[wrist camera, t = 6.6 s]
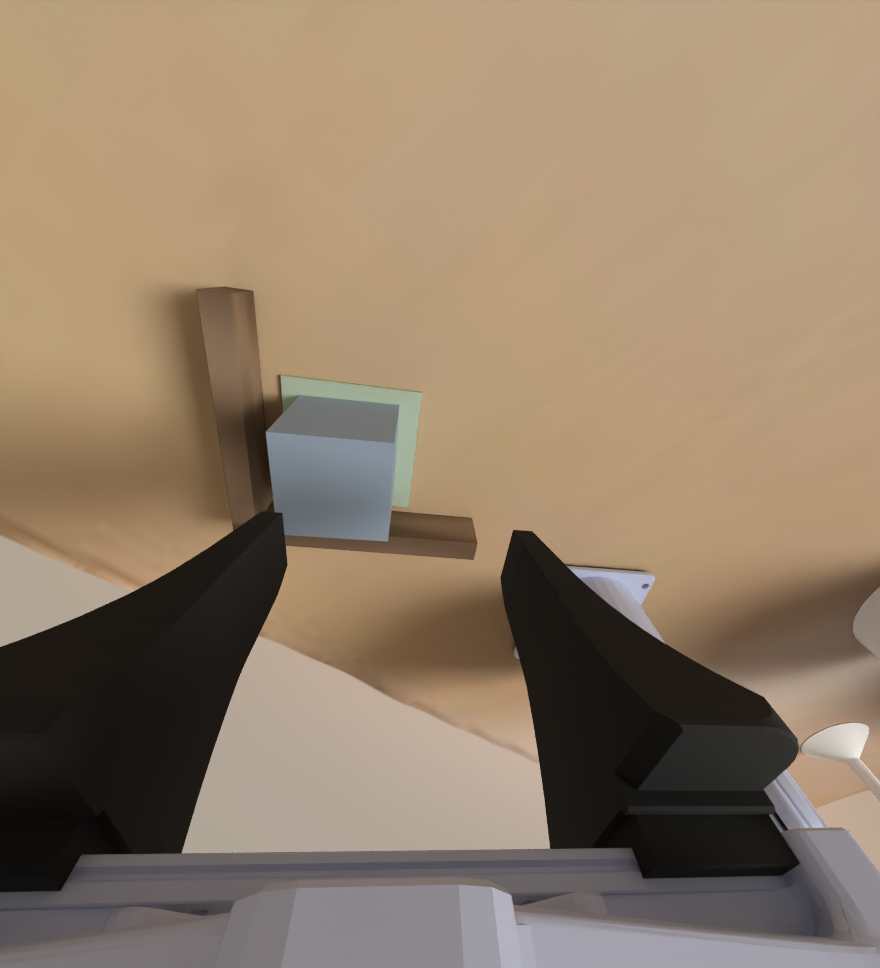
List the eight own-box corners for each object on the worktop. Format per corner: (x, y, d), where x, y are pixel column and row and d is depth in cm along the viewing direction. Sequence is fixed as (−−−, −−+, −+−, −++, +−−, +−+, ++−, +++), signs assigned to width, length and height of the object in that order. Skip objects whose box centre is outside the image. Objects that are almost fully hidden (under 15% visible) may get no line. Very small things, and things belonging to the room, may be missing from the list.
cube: (399, 404, 20) (394, 443, 15) (394, 487, 22) (387, 541, 18) (300, 394, 19) (265, 431, 15) (305, 481, 22) (277, 534, 17)
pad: (408, 505, 23) (408, 507, 23) (289, 494, 22) (288, 496, 22) (421, 392, 20) (422, 393, 19) (281, 374, 19) (280, 375, 19)
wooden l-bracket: (468, 533, 24) (473, 559, 22) (252, 515, 23) (235, 541, 21) (513, 328, 18) (526, 337, 16) (224, 286, 17) (196, 289, 15)
